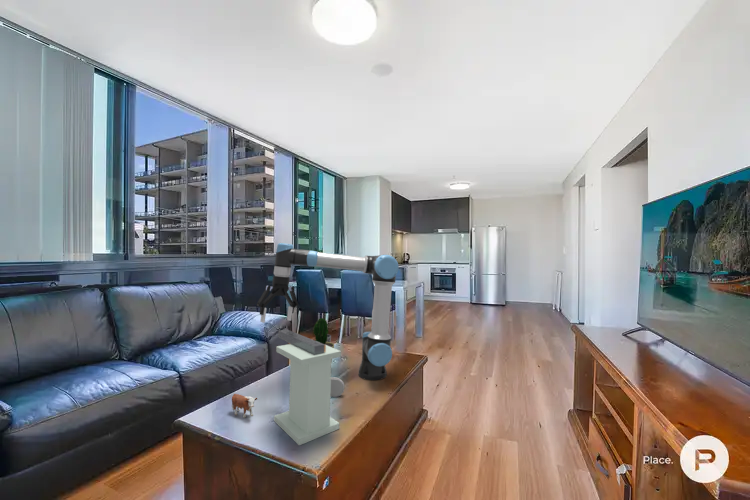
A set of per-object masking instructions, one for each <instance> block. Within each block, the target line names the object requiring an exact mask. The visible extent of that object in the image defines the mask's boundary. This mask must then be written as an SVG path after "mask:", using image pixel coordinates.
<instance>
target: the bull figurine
mask: <svg viewBox="0 0 750 500" xmlns="http://www.w3.org/2000/svg"><path fill="white" fill-rule="evenodd" d="M257 400H258V397H253V396H247V395H246V396H245V395H242V394H238V393H234V394H232V397H231V409H232V411H234V416H238V415H239V414H238V412H240V410H243V415H242V417H243V418H244V419H246V417H247V416H246V413H247V412H249V416H250V417H253V416H254V414H253V409H252V408H254V407H255V401H257Z"/></svg>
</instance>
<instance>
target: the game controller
mask: <svg viewBox="0 0 750 500" xmlns="http://www.w3.org/2000/svg"><path fill="white" fill-rule="evenodd" d="M344 390H345V383H344V381H343V380H342V379H341V378H339V377H335V376H334V377H332V376H331V395H330V397H333V398H338V397H340V396H342V395H343V393H344Z"/></svg>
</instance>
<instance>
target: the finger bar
mask: <svg viewBox="0 0 750 500" xmlns="http://www.w3.org/2000/svg"><path fill="white" fill-rule="evenodd" d="M277 338H278V339H279V340H282V341H285V342H286V343H288V344H292V345H294V346H296V347H299V348H301V349H303V350H305V351H307V352H309V353H311V354H313V355H317V354H321V353H324V352H326V345H324V344H322V343H319V342H317V341H316V339H312V338H309V337H307V336H305V335H301V334H300V333H298V332H294V331H292V330H289V329H281V330H278V334H277Z"/></svg>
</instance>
